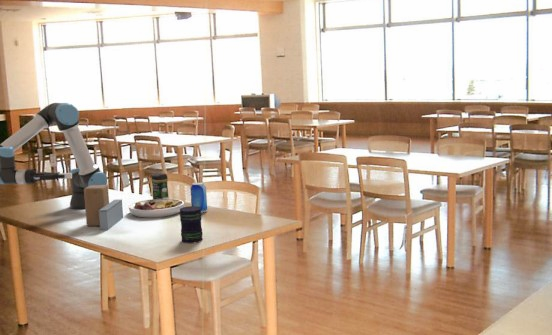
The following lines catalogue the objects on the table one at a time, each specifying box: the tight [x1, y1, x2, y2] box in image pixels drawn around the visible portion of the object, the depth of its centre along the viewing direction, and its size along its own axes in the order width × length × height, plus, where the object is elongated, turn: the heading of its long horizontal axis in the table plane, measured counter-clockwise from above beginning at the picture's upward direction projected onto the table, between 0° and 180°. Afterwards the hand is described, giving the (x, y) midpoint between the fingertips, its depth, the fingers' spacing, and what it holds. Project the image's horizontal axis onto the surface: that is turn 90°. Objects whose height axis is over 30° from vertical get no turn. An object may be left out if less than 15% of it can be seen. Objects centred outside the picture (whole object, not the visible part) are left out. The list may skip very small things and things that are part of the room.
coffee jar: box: [151, 172, 170, 199], centre depth 386 cm, size 10×8×19 cm
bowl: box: [128, 198, 185, 219], centre depth 364 cm, size 30×30×8 cm
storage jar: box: [179, 205, 203, 244], centre depth 302 cm, size 10×10×15 cm
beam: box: [99, 199, 124, 231], centre depth 341 cm, size 26×4×10 cm, turn 177°
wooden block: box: [84, 184, 110, 227], centre depth 341 cm, size 10×10×20 cm
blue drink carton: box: [190, 181, 208, 214], centre depth 361 cm, size 8×8×16 cm
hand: (71, 175), depth 339 cm, fingers closed
